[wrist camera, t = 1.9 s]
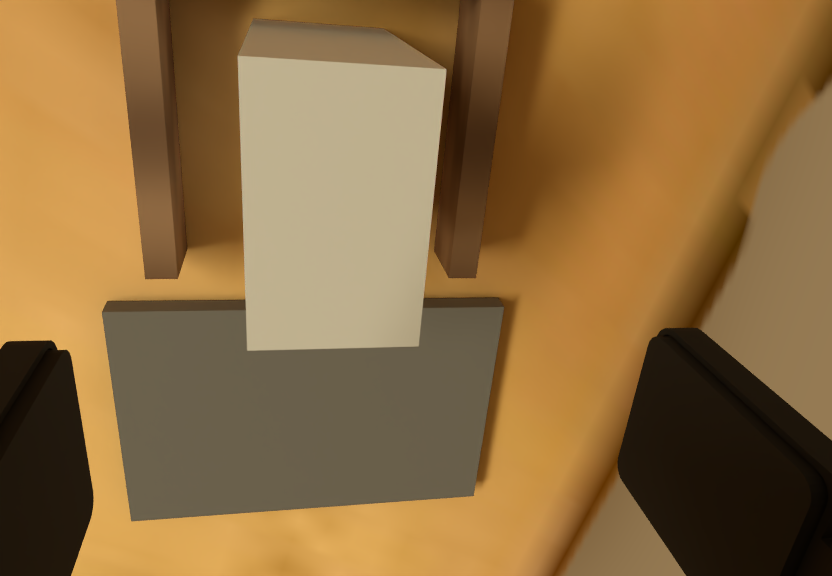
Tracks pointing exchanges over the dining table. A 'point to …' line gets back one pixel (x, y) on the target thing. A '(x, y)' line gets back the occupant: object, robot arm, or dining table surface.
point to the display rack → (464, 149)
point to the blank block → (336, 184)
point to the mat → (294, 410)
